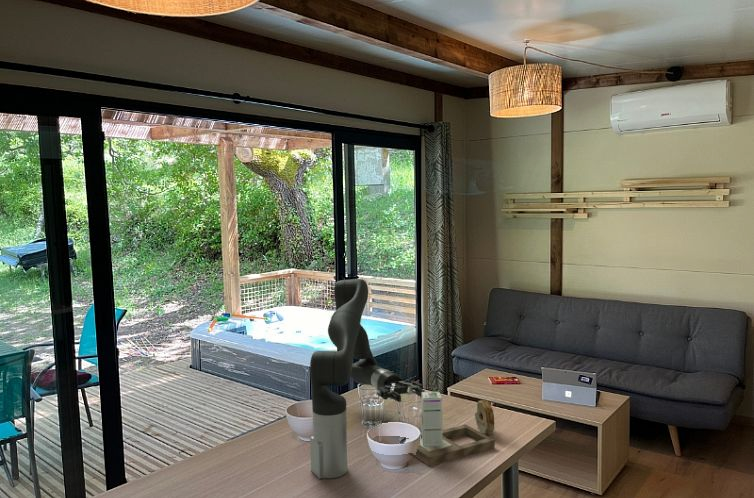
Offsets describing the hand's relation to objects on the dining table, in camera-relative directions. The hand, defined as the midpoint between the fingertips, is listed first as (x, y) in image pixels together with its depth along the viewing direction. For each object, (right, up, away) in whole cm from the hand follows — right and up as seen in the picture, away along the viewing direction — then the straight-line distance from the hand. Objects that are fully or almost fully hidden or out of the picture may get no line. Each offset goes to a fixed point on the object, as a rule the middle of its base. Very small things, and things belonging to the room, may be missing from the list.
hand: (412, 396), depth 175 cm
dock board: (+10, -14, -6) cm, 18 cm away
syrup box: (+5, -11, -9) cm, 15 cm away
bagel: (+24, -13, +6) cm, 28 cm away
